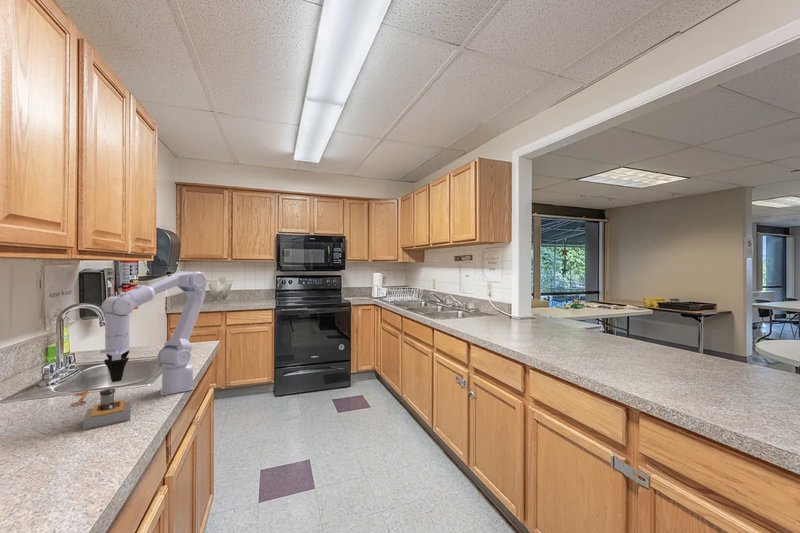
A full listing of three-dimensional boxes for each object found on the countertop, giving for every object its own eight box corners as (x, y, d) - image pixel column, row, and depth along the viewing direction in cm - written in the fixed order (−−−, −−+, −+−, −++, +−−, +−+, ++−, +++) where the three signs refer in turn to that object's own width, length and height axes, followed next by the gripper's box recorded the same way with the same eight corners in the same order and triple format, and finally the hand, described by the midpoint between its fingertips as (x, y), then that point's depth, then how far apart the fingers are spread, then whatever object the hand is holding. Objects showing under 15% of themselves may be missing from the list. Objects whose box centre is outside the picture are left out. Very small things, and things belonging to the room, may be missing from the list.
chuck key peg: (114, 406, 99) (115, 387, 99) (114, 409, 97) (115, 390, 97) (99, 409, 97) (100, 390, 97) (98, 412, 95) (99, 393, 95)
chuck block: (130, 410, 103) (131, 397, 103) (130, 420, 97) (130, 406, 97) (87, 419, 97) (87, 405, 97) (83, 430, 91) (83, 415, 91)
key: (73, 395, 116) (60, 410, 104) (73, 392, 116) (60, 407, 104) (95, 390, 120) (85, 405, 107) (95, 388, 120) (85, 402, 107)
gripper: (101, 332, 106) (101, 374, 106) (98, 340, 95) (98, 387, 95) (130, 329, 111) (130, 370, 111) (129, 337, 99) (129, 382, 99)
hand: (117, 377), depth 103 cm, fingers open, 7 cm apart
